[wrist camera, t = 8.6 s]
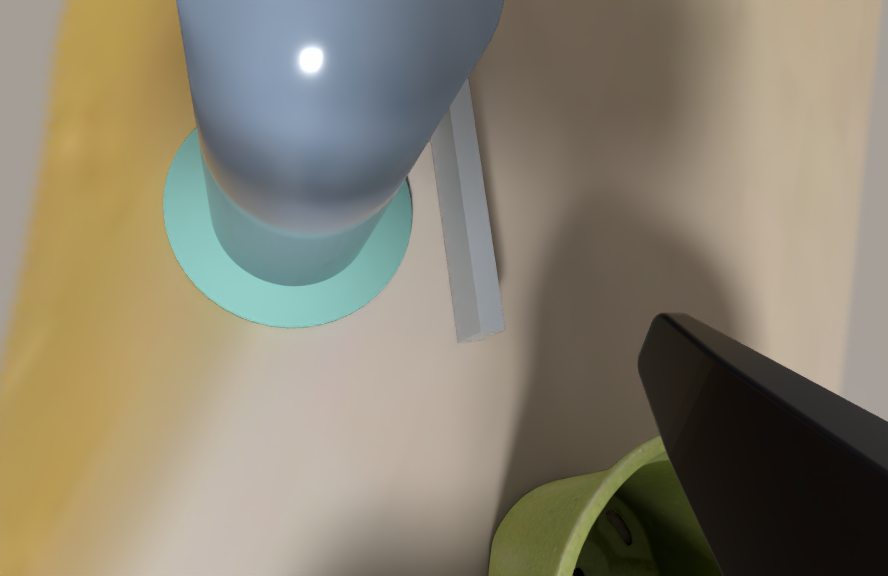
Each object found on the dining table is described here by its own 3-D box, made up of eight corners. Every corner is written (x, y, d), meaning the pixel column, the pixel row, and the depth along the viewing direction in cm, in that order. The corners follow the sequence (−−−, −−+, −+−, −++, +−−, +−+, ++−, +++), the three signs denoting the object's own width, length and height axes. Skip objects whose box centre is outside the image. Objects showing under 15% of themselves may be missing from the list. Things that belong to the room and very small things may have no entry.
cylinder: (396, 251, 24) (556, 53, 11) (248, 310, 22) (252, 151, 10) (334, 115, 24) (425, -217, 12) (184, 163, 22) (110, -168, 10)
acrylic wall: (479, 340, 24) (505, 329, 22) (458, 342, 24) (480, 332, 22) (435, 23, 26) (454, -18, 24) (414, 22, 26) (431, -19, 24)
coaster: (423, 316, 24) (425, 315, 24) (172, 339, 22) (171, 338, 21) (395, 97, 25) (397, 94, 25) (156, 97, 23) (155, 93, 23)
